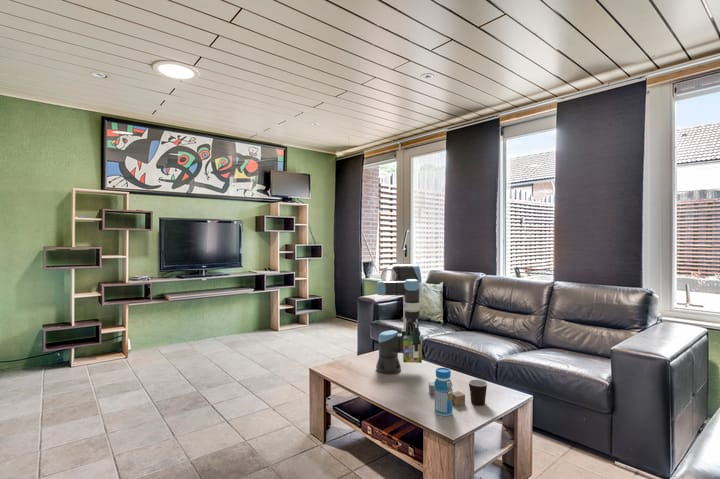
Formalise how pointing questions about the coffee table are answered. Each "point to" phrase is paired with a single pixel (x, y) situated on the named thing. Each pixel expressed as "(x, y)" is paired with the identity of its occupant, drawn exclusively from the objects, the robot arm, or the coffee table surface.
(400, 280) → the robot arm
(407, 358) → the chalk box
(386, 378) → the coffee table surface
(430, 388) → the gray cube
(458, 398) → the walnut block
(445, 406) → the beverage bottle
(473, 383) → the coffee mug
